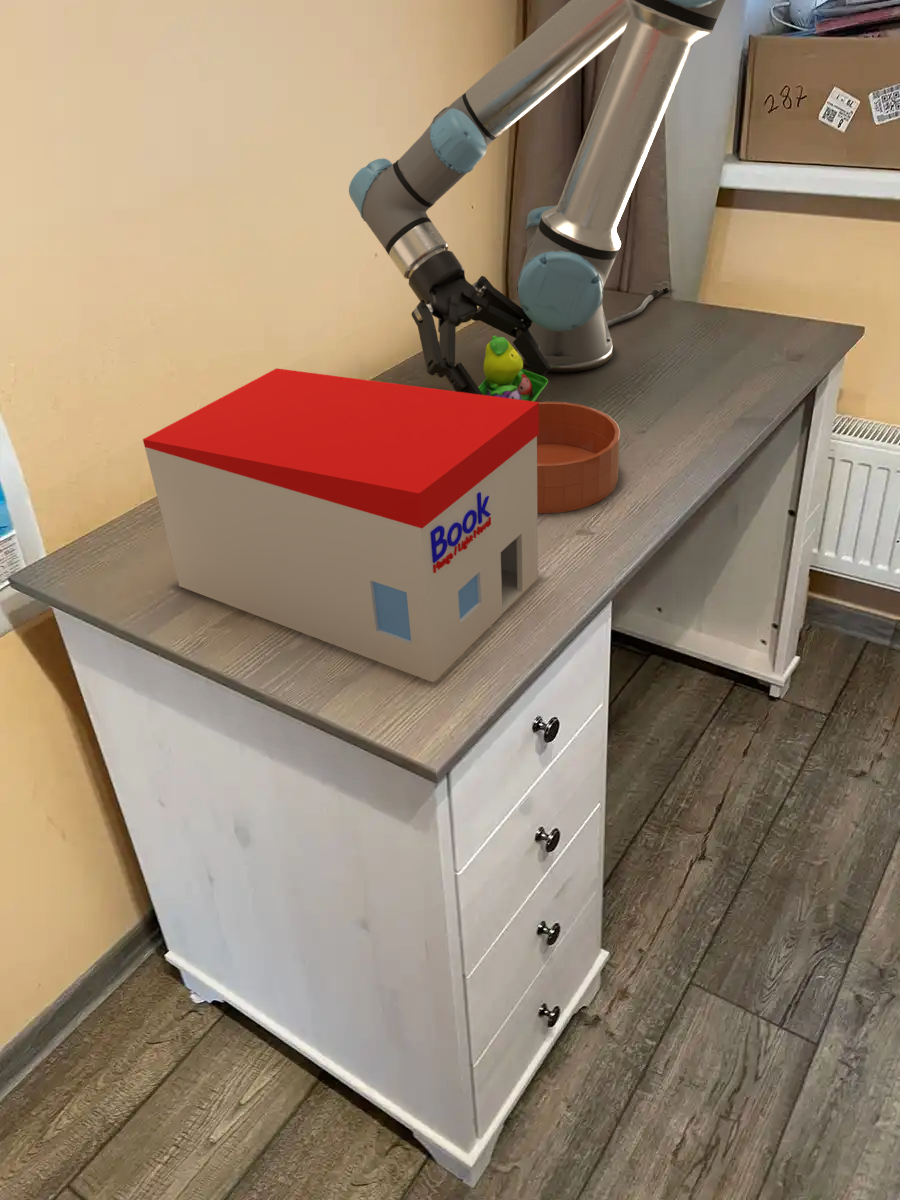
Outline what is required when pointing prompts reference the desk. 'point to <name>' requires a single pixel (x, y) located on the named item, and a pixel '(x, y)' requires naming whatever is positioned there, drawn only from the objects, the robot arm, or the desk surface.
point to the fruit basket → (508, 373)
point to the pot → (575, 456)
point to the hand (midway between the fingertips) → (514, 390)
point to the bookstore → (355, 510)
